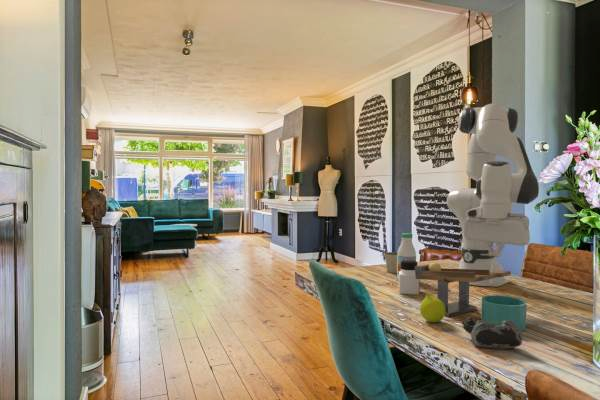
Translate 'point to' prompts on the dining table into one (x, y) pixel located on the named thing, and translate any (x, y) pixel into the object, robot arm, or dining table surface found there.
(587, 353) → the dining table surface
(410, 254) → the milk bottle
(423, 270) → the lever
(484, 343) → the bison figurine
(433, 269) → the ball
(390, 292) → the dining table surface
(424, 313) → the ornament
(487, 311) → the cup
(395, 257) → the flower pot
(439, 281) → the lever stand
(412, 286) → the medicine bottle
